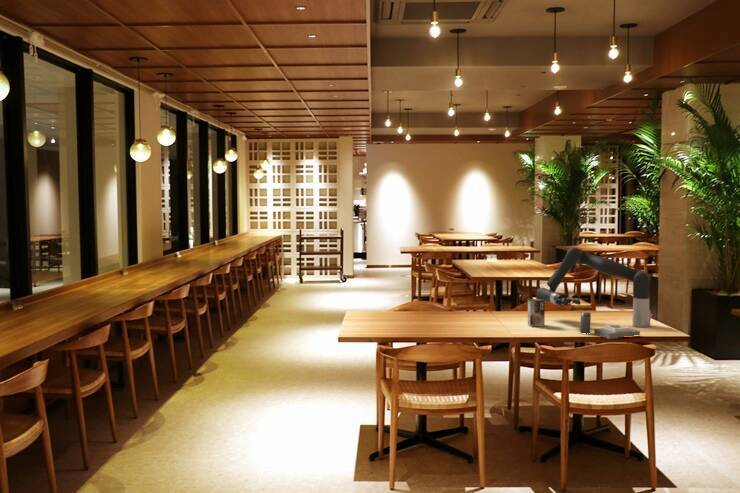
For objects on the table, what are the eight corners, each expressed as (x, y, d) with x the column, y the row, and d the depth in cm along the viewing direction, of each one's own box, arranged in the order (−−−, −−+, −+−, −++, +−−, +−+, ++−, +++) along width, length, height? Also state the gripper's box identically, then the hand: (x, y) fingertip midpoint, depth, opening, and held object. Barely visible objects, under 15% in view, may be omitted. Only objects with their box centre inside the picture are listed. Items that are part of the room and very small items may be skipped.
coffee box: (541, 324, 427) (542, 298, 425) (544, 326, 420) (545, 300, 419) (527, 324, 427) (527, 298, 425) (529, 326, 420) (530, 300, 419)
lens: (586, 332, 405) (587, 311, 404) (592, 333, 399) (592, 313, 398) (578, 332, 403) (578, 312, 402) (583, 334, 398) (584, 313, 397)
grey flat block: (623, 331, 405) (624, 323, 405) (639, 336, 392) (639, 327, 391) (594, 333, 400) (594, 325, 399) (609, 338, 386) (609, 330, 386)
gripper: (548, 293, 425) (563, 297, 409) (569, 292, 429) (584, 296, 413) (548, 305, 425) (562, 310, 410) (568, 304, 429) (583, 309, 414)
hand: (573, 303), depth 412 cm, fingers open, 8 cm apart
